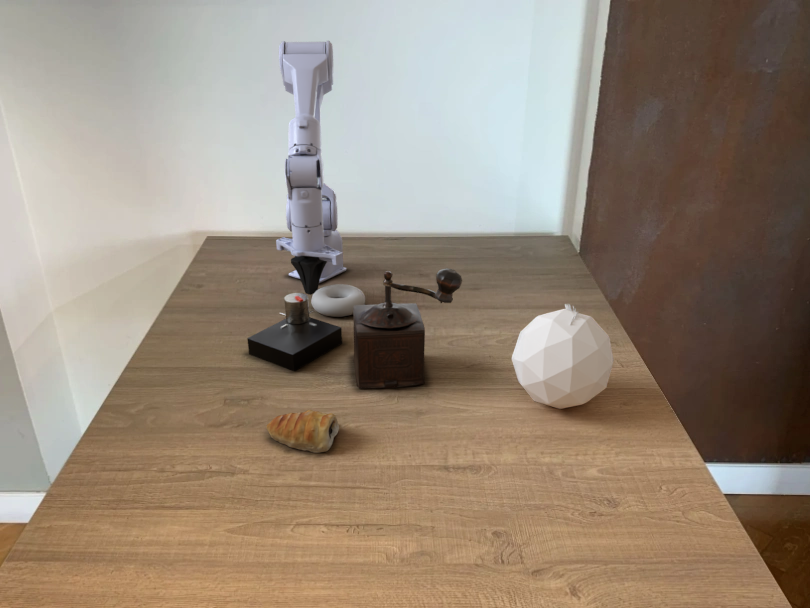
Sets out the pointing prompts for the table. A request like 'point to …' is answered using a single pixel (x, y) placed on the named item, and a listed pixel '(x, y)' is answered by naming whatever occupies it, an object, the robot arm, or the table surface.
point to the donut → (337, 300)
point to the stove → (294, 342)
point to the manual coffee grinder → (395, 335)
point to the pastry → (305, 430)
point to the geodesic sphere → (563, 358)
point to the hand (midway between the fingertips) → (311, 292)
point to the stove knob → (296, 308)
